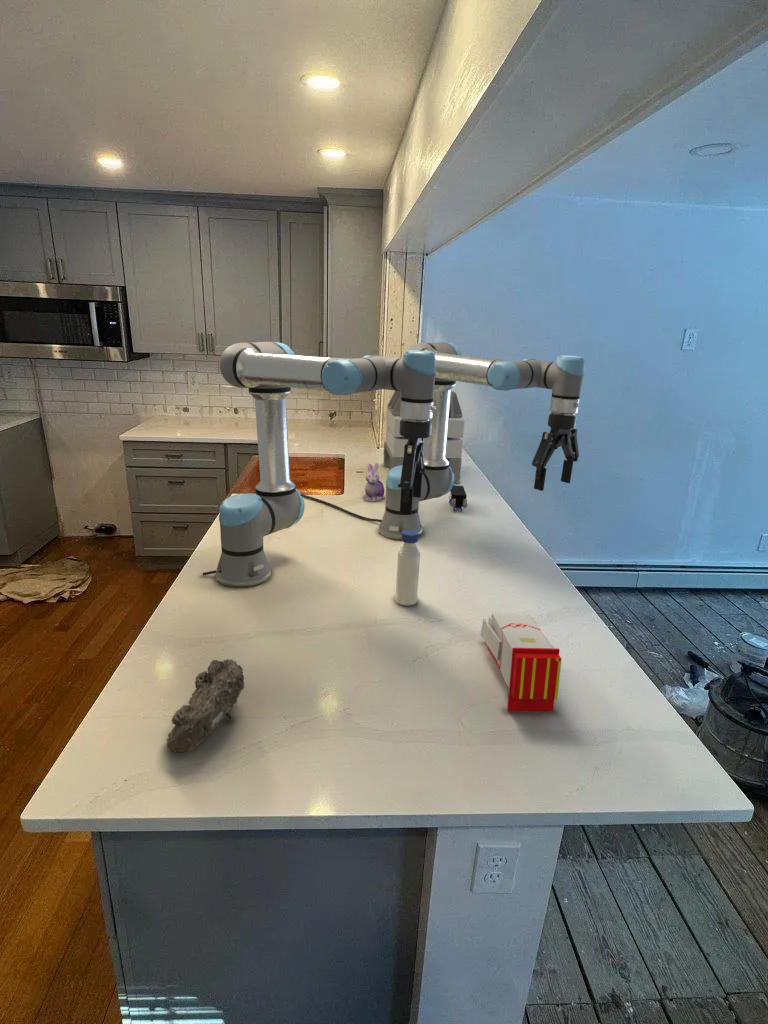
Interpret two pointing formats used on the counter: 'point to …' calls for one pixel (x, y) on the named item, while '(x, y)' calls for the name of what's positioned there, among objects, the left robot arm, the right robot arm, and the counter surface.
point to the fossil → (206, 705)
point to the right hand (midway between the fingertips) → (552, 485)
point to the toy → (523, 661)
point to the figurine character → (458, 497)
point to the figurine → (373, 485)
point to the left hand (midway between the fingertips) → (410, 505)
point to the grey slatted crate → (397, 442)
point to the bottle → (407, 574)
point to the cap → (410, 536)
